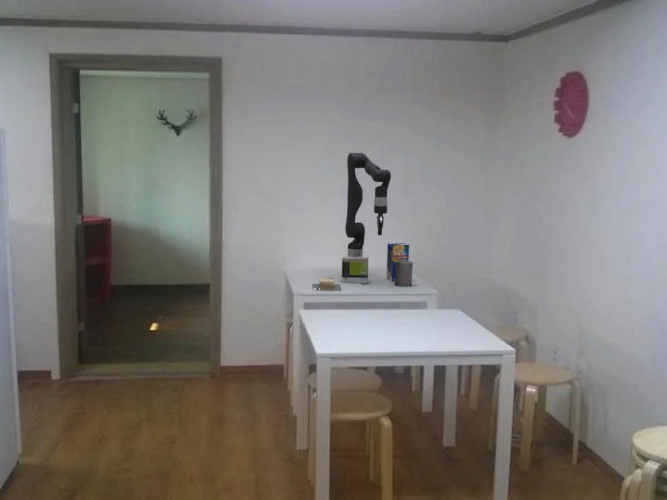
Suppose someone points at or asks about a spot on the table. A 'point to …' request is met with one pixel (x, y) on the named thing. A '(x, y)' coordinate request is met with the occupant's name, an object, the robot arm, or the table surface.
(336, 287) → the mat
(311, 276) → the table surface
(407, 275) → the pillar candle
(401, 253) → the blue food box
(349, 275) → the tea box
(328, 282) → the block
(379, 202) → the robot arm
